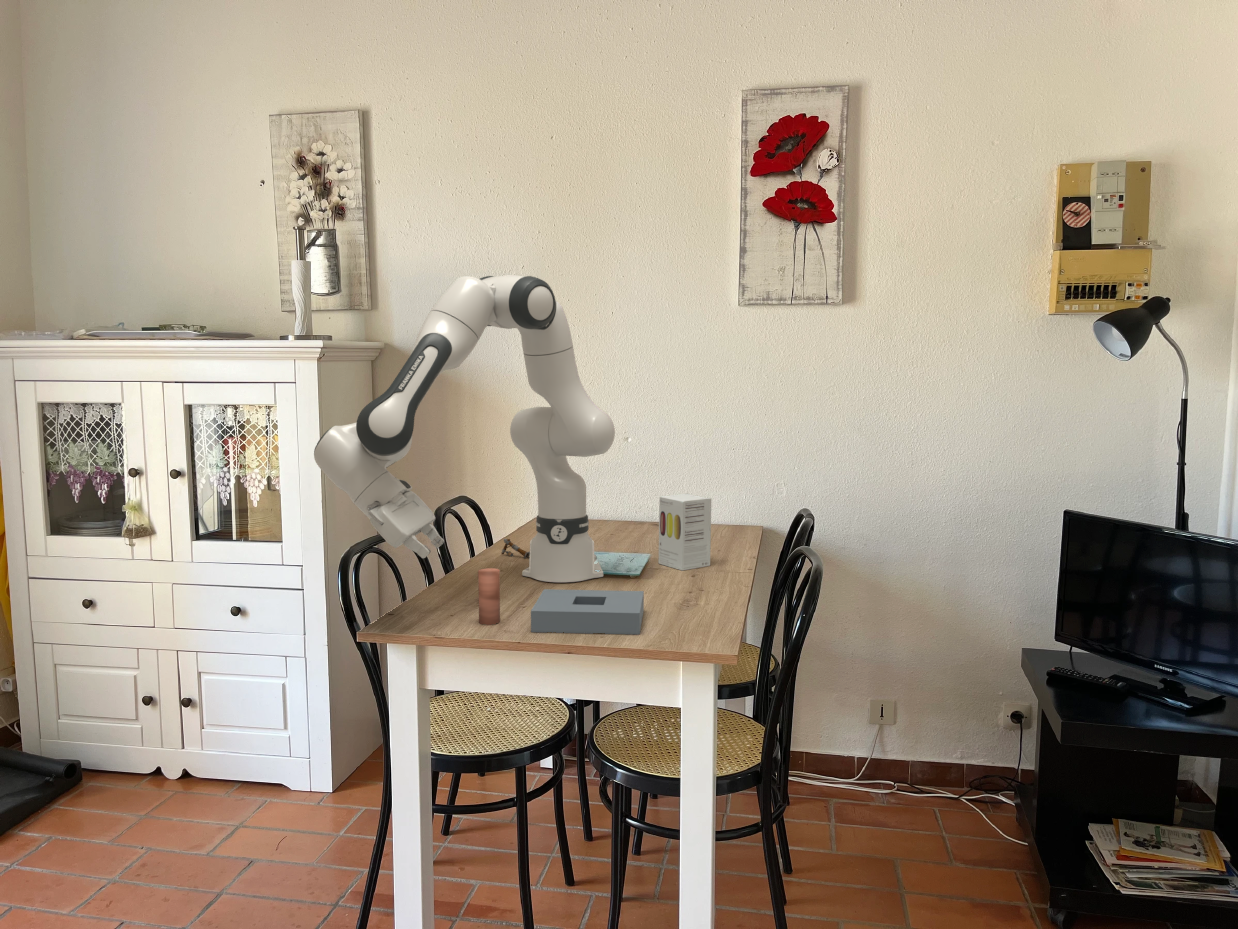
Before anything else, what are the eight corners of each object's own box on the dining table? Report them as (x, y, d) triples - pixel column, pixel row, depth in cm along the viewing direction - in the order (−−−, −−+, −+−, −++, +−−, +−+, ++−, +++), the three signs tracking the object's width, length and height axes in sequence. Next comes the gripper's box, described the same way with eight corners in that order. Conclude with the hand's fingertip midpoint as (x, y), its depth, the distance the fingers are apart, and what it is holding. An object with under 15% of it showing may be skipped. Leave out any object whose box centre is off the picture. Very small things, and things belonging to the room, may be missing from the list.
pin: (481, 618, 178) (480, 568, 177) (501, 619, 178) (501, 568, 177) (476, 624, 174) (476, 572, 173) (497, 625, 174) (497, 573, 173)
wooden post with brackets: (501, 551, 237) (506, 535, 236) (525, 566, 234) (531, 551, 233) (497, 552, 236) (502, 537, 234) (521, 567, 233) (527, 552, 231)
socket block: (544, 608, 185) (544, 589, 185) (643, 610, 184) (643, 591, 183) (530, 632, 169) (530, 611, 169) (639, 634, 168) (639, 613, 168)
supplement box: (657, 563, 226) (657, 495, 224) (685, 559, 231) (686, 492, 230) (682, 571, 218) (683, 500, 216) (711, 566, 224) (712, 497, 222)
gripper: (375, 495, 164) (430, 550, 165) (409, 480, 184) (458, 528, 185) (351, 519, 165) (406, 574, 165) (388, 501, 185) (437, 550, 186)
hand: (434, 550), depth 175 cm, fingers open, 8 cm apart
